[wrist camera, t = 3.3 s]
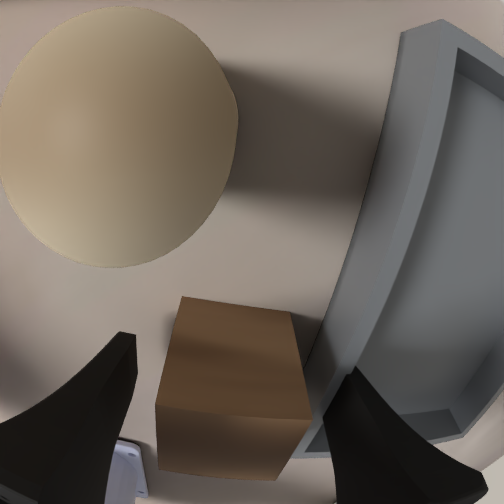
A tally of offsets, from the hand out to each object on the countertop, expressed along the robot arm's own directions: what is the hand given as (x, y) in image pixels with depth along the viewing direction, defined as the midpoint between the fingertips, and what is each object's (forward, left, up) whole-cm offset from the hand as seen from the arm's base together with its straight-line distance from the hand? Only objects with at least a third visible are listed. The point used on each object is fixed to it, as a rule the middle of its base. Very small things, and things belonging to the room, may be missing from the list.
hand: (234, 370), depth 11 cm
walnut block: (0, 0, -2) cm, 2 cm away
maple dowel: (+8, +3, -2) cm, 9 cm away
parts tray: (+4, -9, -2) cm, 10 cm away
